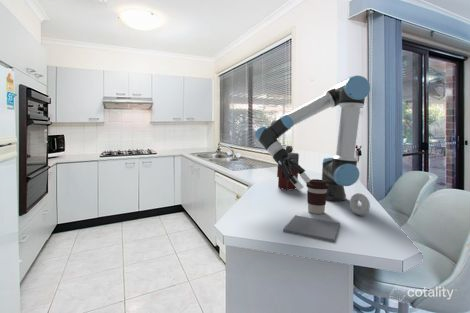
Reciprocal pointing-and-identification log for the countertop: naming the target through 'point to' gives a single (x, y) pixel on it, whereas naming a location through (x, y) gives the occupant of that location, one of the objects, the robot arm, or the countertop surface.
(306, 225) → the mat
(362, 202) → the donut
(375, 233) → the countertop surface
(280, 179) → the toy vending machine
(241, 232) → the countertop surface
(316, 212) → the coffee cup
